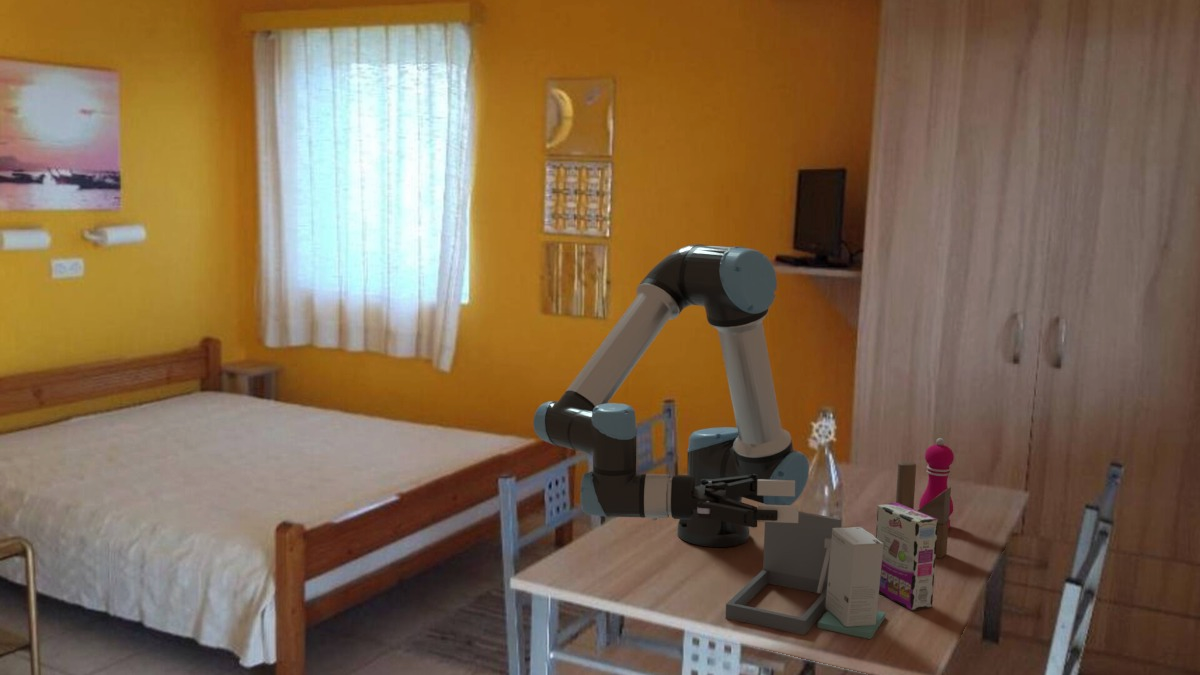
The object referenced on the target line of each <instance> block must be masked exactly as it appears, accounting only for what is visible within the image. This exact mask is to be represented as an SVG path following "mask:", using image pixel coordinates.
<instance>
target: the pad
mask: <svg viewBox="0 0 1200 675" xmlns="http://www.w3.org/2000/svg"><path fill="white" fill-rule="evenodd" d="M885 619H886V612H885V611H880V610H877V617H876V625H867V626H853V627H846V626H844V625H843V624H842V623H841V621H839V620H838V619H837V618H836V617H835V616H834V615H833V614H832V613H830V612H829V611H828V610H827V609H826V610H825V613H824V614H823V615H821V618H819V619H818V620H817V629H821V630H827V631H831V632H836V633H839V634H840V633H841V634H844V635H850V636H854V637H859V638H864V639H869V640H872V638H873V637H874V636H875V634H876V632H877V631H878V630H879V628H880V626H881V624H882V623H883V621H884V620H885ZM878 627H879V628H878Z"/></svg>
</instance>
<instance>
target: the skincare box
mask: <svg viewBox="0 0 1200 675" xmlns="http://www.w3.org/2000/svg"><path fill="white" fill-rule="evenodd" d="M883 546H884V544H883V543H882V542H880V541H879V540H878V539H876V536H875V535H874V534H873V533H871V532H868V531H867V530H865V528H863V527H861V526H852V527H841V528H832V540H831V551H830V561H829V571H828V583H827V593H826V603H825V609H826V611H827V610H828V611H829V612H830V613H832V614H833V615H834V616H835V617H836V618H837V619H838V620H839V621H841V623H842V624H843V625H844V626H846V627H853V626H867V625H876V617H877V611H878V605H879V594H880V593H879V586H880V576H881V566H882V556H883Z"/></svg>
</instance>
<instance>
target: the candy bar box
mask: <svg viewBox="0 0 1200 675" xmlns="http://www.w3.org/2000/svg"><path fill="white" fill-rule="evenodd" d="M876 517H877V518H876V531H875V532H876V533H875V538H876V539H878V540H879V541H880V542H882V543H883V544H884V546H883V556H882V566H881V576H880V586H879V594H880V595H882V596H884V597H886V598H888V599H889V600H891V601H894V602H895V603H897V604H899V605H901V606H903V607H905V608H907V609H908V610H910V611H918V610H924V609H929V608H933V600H934V598H933V597H934V596H933V595H934V585H935V584H934V583H935V581H934V580H935V571H936V570H935V568H936V557H935V556H936V540H937V526H938V519H936V518H933V517H931V516H929V515H926V514H924V513H921V512H919V511H918V510H917V509H912V508H909V507H907V506H904V505H902V504H899V503H896V502H891V503H885V504H877V515H876Z"/></svg>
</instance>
